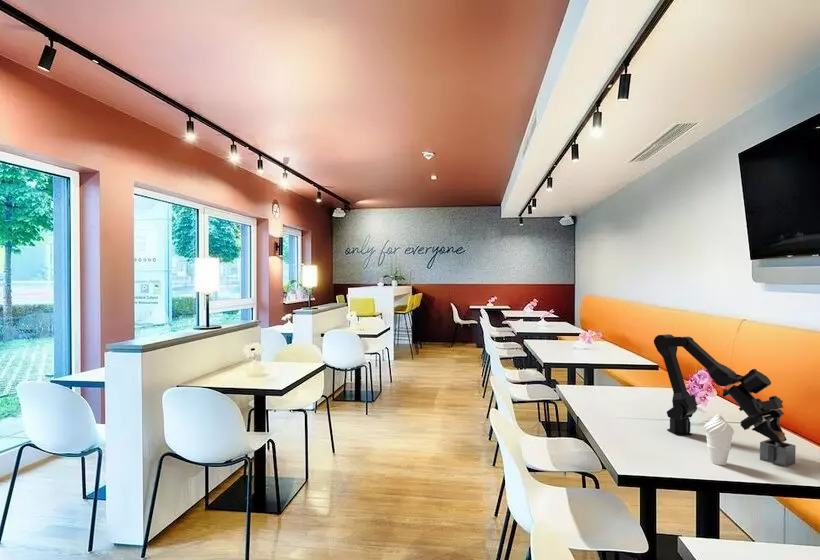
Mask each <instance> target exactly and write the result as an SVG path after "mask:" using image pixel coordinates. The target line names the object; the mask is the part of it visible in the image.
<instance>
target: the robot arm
mask: <svg viewBox="0 0 820 560" xmlns="http://www.w3.org/2000/svg"><path fill="white" fill-rule="evenodd" d="M653 344H654V346H655V348H656V351H657V352H658V354H660V355H661V356H662V358H663V361H664V366H665V369H666V371H667V375H668V379H669V381H670V385H671V388H672V393H673V394H672V398H671V399H672V400H671V403H672V407H671V408H670V409H668V410H667V411H666V414H667V417H668V418H669V428H666V431H668V432H670V433H672V434H674V435H676V436H692V435H693V433H692V432H691V418H692V417H693V415H694V414H695V413H696V412H697V410H698V405H699V404H698V403H697V400H696V395H695V394H691V393H689V391H688V389H687V387H686V386H687V385H686V382H685V379H684V377H683V373H682V370H681V367H680V364H679V361H678V356H677V353H678V348H679V347H682V348H683V349H684V350H686V352H688V354H690V355H691V356H692V357H693V358H694V359H695V360H696V361H697V362H698V363H700V365H702V366H703V367H704V369H705V370H706V371H707V373H708V375H709V377H710V379H712V381H713V382H714V384H716V385H717V386H718V387H723V390H722V391H723V392H722V397H723V398H726V397H731V398H732V400H733V401H734V402H735V403H736V404H737V405H738V406H739V408H738V409H739V411H740V412H742V411H743V412H744V413H745V415H746V416H747V417H745V418H743V420H740V426H741V428H742V429H743V430H744V431H746V430H750V428H751V427H752V428H751V431H754V432H756V433H758V434H760V435H763V437H766V438H767V439H771V440H773V441H775V442H777V443H780V442H781V440H780V439H779V437H778V436H777V435H776V433H775V432H774V431H780V432H783V433H784V431H783V430H782V428H781V425H780V419H781V417H782V416H784V415H785V412H784V411H782V409H781V408H784V405H783V402H784V401H783V400H781V398H780V397H778V396H777V395H773V396H769V397H768V400H762V399H761V398H757V397H756V398H755V396H754V395H753V394H759V393H760V392H762V391H763V390H765V389H766V388H768V387H770V385H772V381H771V380H770V378H769V377H768V376H767V375H766V374H764V373H762V372H760V371H758V370H757V369H756V368H753V369H750V370H749V372H747V373H746V374H745V375H741V374H737V373H736V371H734V370H733V369H731V368H730V367H729V366H727V365H724V364H722V363H721V362H719V361H717V360H716V359H715V358H714V357H713V356H712V355H711V354H710V353H708V352H707V351H706V350H705V349H704V348H703V347H701V346H700V345H699V344H698V343H697V342H696V340H695V339H694V338H692V337H691V336H674V335H672V334H669V333H668V334H666V333H665V334H658V335H656V336H655V337H654V339H653ZM739 383H740V384H739ZM735 384H738V385H735ZM729 386H731V387H729ZM724 387H725V388H724ZM726 387H729V388H726ZM752 393H753V394H752ZM786 441H787V437H786V436H785V442H786Z"/></svg>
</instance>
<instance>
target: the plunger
mask: <svg viewBox="0 0 820 560" xmlns="http://www.w3.org/2000/svg"><path fill="white" fill-rule="evenodd" d="M774 432H775V433H776V435H777V436H778V437H779V439H780V440H781V442H785V443H786V441H785V437H786V435H785V434H786V433H785V432H784V431H783V432H780V431H774ZM776 446H779V447H780V443H777V442H776Z"/></svg>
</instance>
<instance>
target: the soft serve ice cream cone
mask: <svg viewBox="0 0 820 560" xmlns="http://www.w3.org/2000/svg"><path fill="white" fill-rule="evenodd" d="M703 430H704V432H705V436H706V446H707V451H708V455H709V459H710V460H709V461H710V463H712V464H714V465H717V466H726V465H727V463H728V462H727V461H728V459H729V454H730V451H731V450H732V449H731V448H732V447H731V444H732V440H733V436H734V433H735V430H734V428H733V426H731V424H729V422H728V421H726V419H725V418H724V417H723V416H722V415H721V414H719V413H718V414H716V415H714V417H712V418H711V420H710V421H708V422H707V423H705V424H704V427H703Z"/></svg>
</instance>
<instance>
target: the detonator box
mask: <svg viewBox="0 0 820 560" xmlns="http://www.w3.org/2000/svg"><path fill="white" fill-rule="evenodd" d="M796 452H797V451H796V444H792V443H788V442H786V441H785V442H780V447H779V446H776V442H775V441H773V440H771V439H769V438H767V439H766V440H762V441H760V442H759V460H760V461H763V462H767V463H770V464H772V465H776V466H779V467H782V468H783V467H784V468H787V467H790V466H791V465H792V466H793V465H795V464H796Z"/></svg>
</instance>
